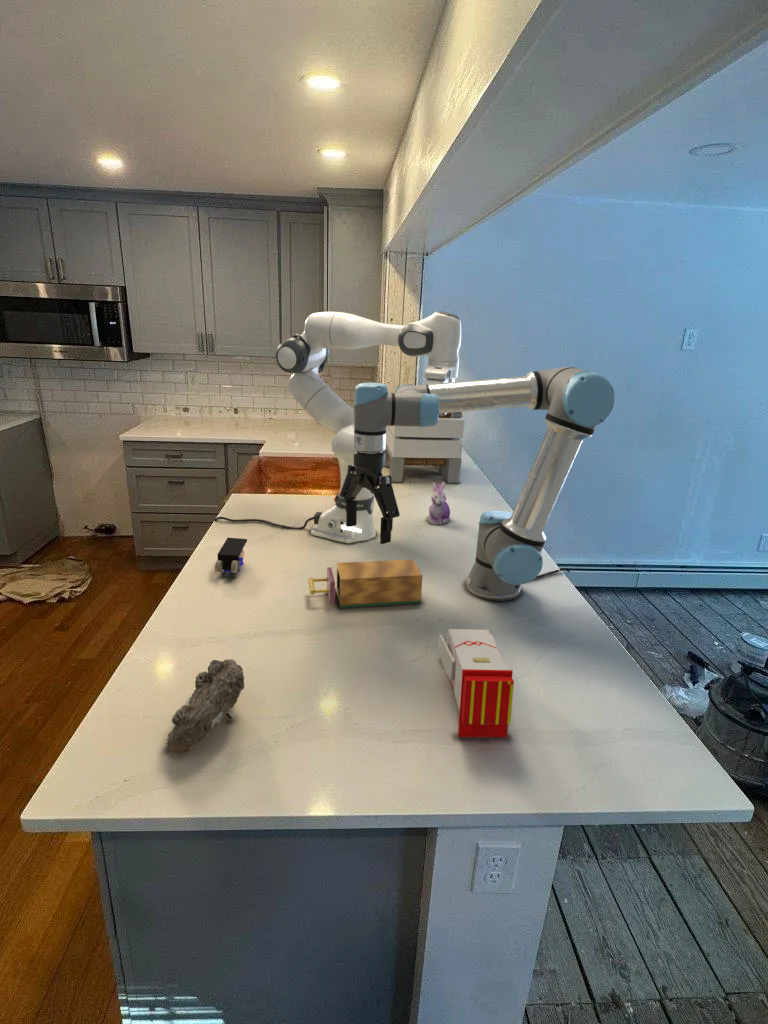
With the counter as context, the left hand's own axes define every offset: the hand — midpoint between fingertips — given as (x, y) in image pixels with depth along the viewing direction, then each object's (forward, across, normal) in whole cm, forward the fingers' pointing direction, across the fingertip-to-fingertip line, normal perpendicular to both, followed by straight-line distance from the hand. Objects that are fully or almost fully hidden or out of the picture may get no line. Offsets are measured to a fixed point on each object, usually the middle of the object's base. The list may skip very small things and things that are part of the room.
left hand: (439, 417), depth 171 cm
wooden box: (+44, +35, -4) cm, 57 cm away
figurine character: (+45, +38, -49) cm, 77 cm away
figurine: (+44, -30, -4) cm, 54 cm away
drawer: (+44, +38, -9) cm, 59 cm away
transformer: (+45, -90, -30) cm, 105 cm away
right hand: (+23, +44, -4) cm, 50 cm away
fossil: (+45, +93, -16) cm, 105 cm away
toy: (+44, +66, +28) cm, 84 cm away
